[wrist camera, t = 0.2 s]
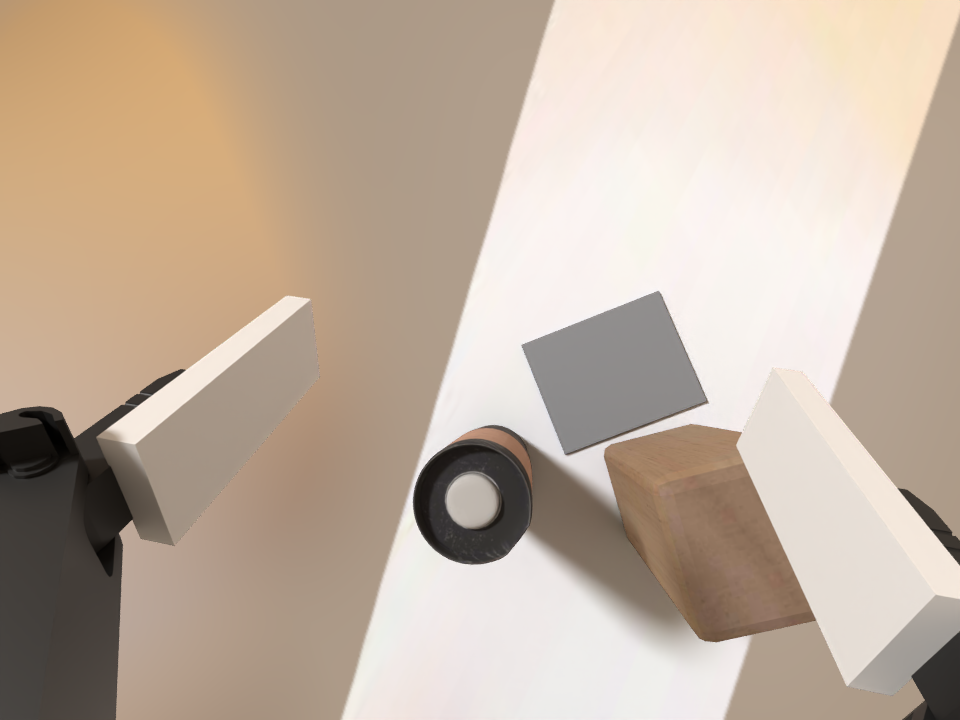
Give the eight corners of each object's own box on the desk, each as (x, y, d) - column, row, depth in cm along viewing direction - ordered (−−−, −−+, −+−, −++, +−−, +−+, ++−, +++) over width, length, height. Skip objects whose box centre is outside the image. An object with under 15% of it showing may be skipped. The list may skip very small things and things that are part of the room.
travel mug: (453, 427, 49) (403, 448, 30) (525, 418, 49) (524, 433, 29) (462, 501, 49) (417, 573, 29) (535, 492, 48) (542, 561, 28)
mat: (705, 400, 47) (706, 400, 47) (564, 453, 48) (565, 454, 48) (657, 291, 48) (658, 290, 48) (521, 345, 49) (521, 345, 49)
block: (697, 420, 47) (822, 439, 27) (728, 520, 46) (881, 615, 26) (599, 445, 48) (651, 481, 28) (627, 544, 47) (702, 653, 27)
